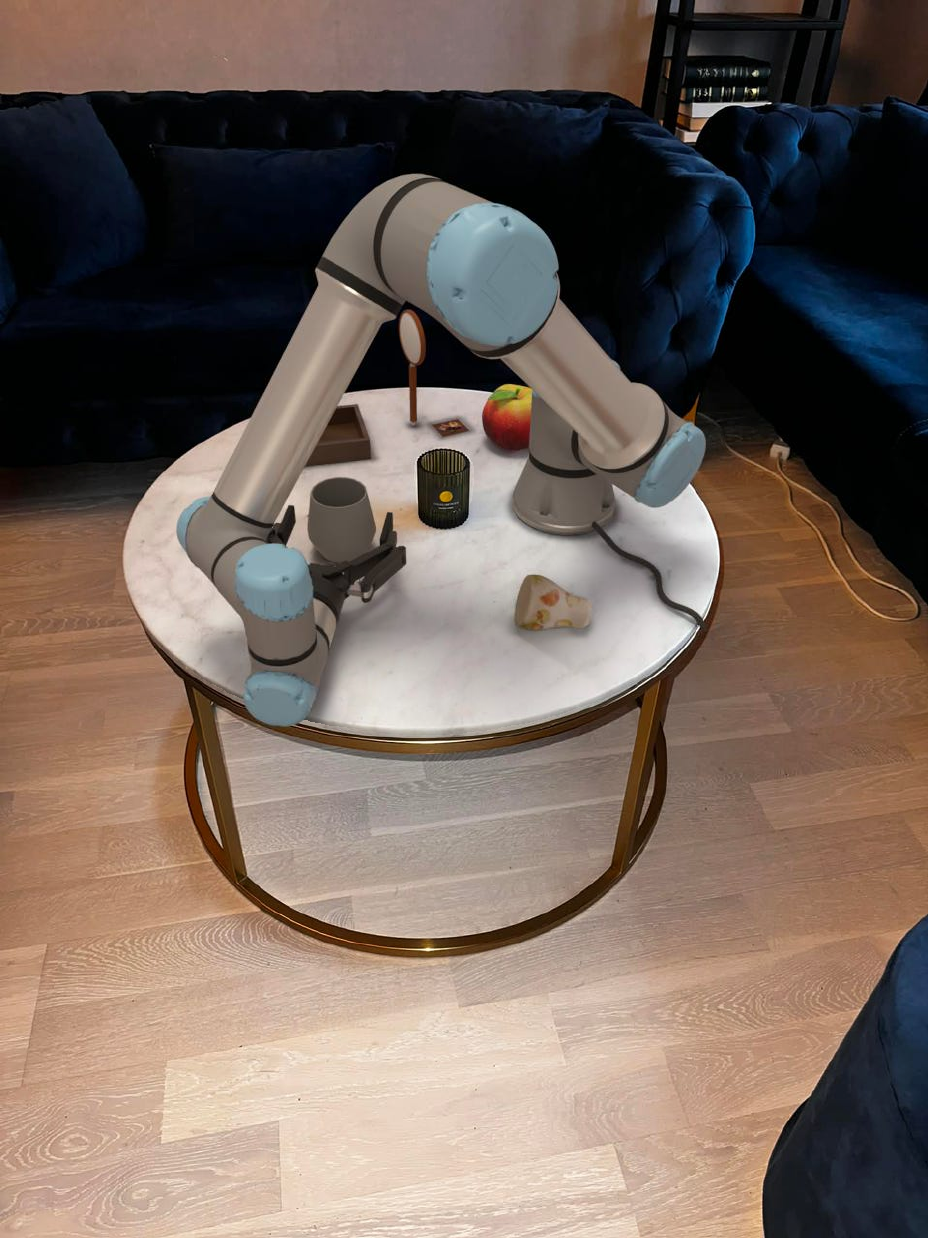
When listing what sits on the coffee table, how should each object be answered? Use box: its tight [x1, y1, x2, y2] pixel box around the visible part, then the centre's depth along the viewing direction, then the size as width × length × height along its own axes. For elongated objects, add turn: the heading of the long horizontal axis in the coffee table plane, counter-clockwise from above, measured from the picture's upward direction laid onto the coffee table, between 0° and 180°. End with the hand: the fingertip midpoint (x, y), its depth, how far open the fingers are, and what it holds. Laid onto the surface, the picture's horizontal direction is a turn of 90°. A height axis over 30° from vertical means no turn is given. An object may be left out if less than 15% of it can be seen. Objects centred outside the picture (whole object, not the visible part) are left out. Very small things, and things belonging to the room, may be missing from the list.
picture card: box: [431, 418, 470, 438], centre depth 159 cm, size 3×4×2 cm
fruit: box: [481, 383, 533, 452], centre depth 153 cm, size 11×11×10 cm
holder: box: [305, 403, 372, 467], centre depth 154 cm, size 12×12×4 cm
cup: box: [306, 476, 377, 564], centre depth 129 cm, size 10×9×10 cm
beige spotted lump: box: [514, 574, 594, 631], centre depth 120 cm, size 8×10×10 cm
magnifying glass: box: [398, 309, 427, 427], centre depth 153 cm, size 9×2×20 cm, turn 27°
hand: (341, 516), depth 129 cm, fingers open, 13 cm apart
